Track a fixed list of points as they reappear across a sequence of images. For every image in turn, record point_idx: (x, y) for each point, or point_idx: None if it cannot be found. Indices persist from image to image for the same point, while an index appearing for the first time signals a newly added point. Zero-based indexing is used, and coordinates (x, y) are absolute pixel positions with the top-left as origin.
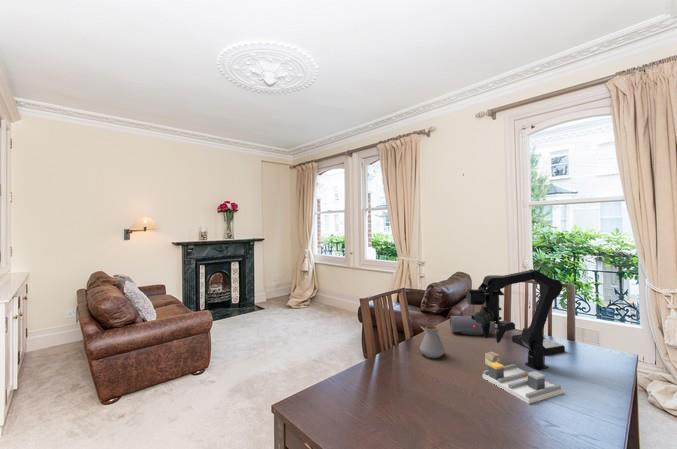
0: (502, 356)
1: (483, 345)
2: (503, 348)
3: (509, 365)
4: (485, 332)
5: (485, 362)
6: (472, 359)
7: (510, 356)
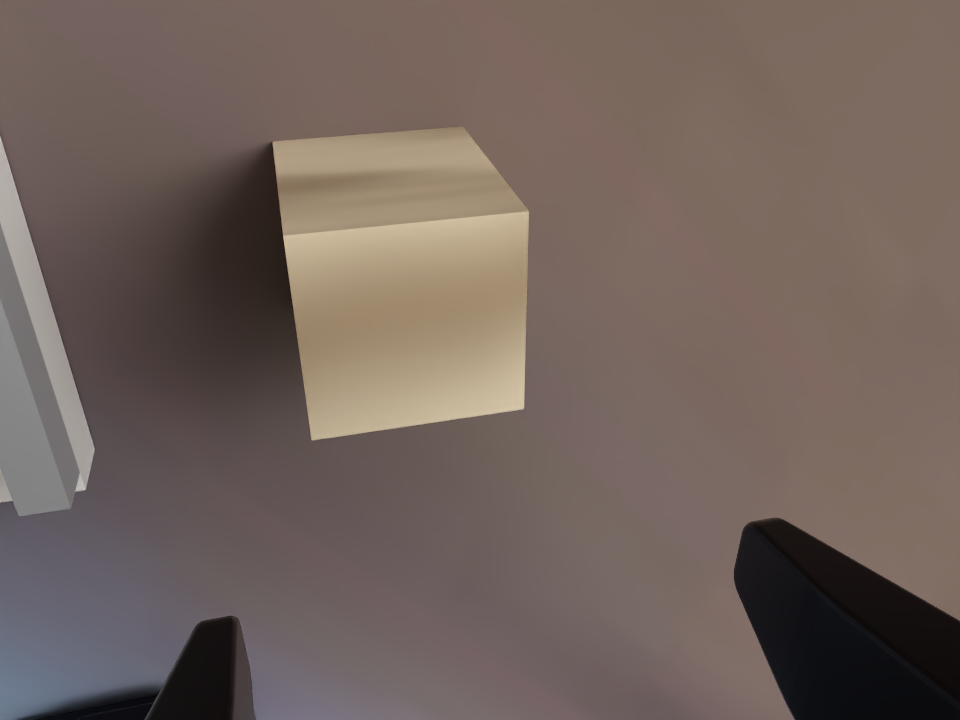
0: (565, 570)
1: (922, 553)
2: (723, 701)
3: (5, 389)
4: (899, 684)
5: (464, 137)
6: (725, 39)
7: (517, 654)
